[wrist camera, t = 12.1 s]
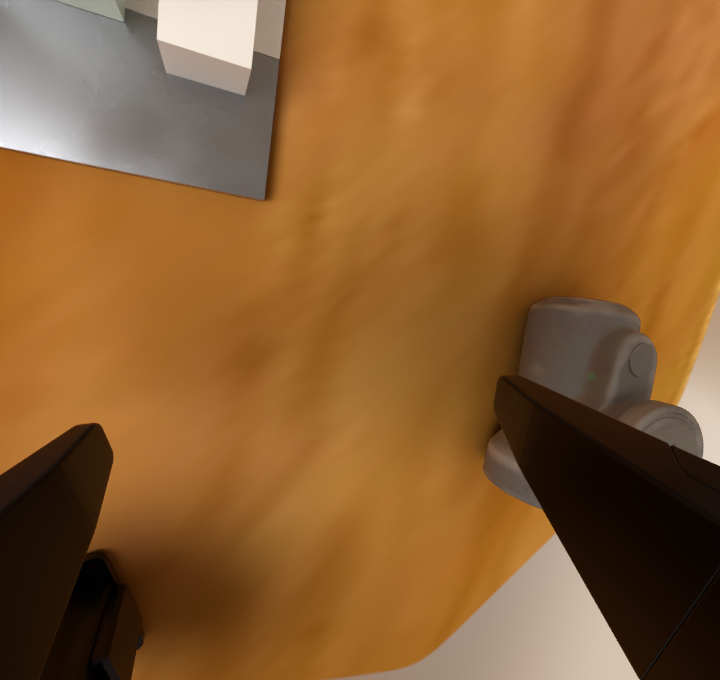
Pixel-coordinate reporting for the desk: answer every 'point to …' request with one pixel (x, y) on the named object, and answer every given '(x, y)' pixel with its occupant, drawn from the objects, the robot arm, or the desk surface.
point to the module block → (101, 7)
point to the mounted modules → (208, 41)
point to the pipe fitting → (591, 377)
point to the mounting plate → (133, 98)
